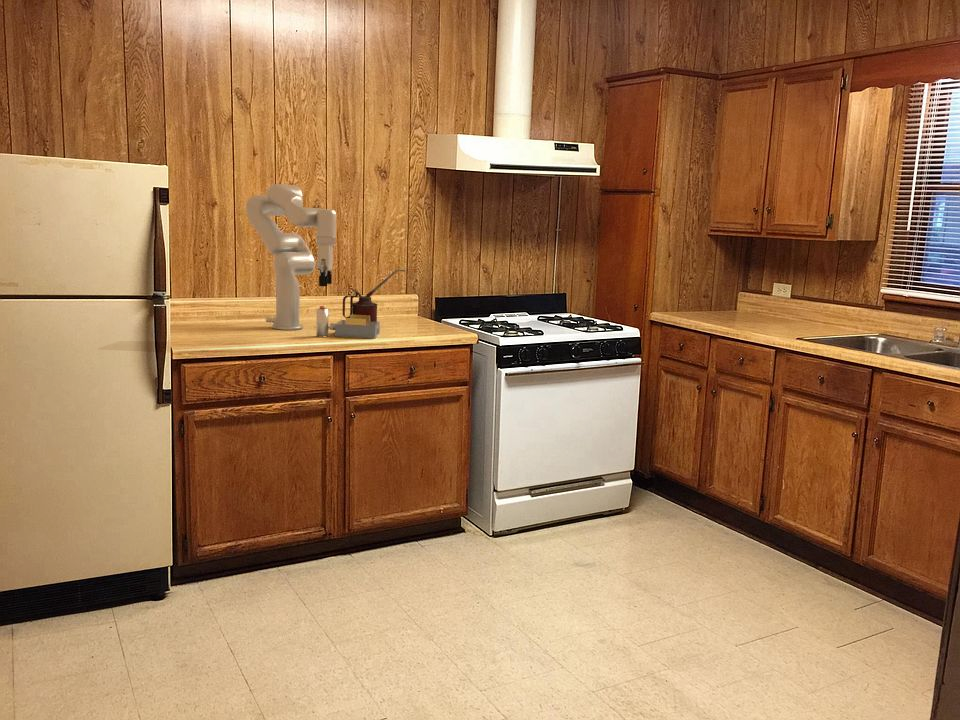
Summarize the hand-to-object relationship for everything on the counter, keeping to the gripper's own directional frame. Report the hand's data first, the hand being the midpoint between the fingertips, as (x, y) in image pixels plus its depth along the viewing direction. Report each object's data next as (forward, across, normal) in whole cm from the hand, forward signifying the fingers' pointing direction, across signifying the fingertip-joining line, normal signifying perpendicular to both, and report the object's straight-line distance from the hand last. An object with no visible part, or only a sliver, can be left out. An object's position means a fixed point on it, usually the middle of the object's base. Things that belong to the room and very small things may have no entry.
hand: (325, 284), depth 331 cm
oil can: (+21, -32, +16) cm, 41 cm away
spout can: (+20, +1, -1) cm, 21 cm away
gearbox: (+20, -6, +11) cm, 24 cm away
